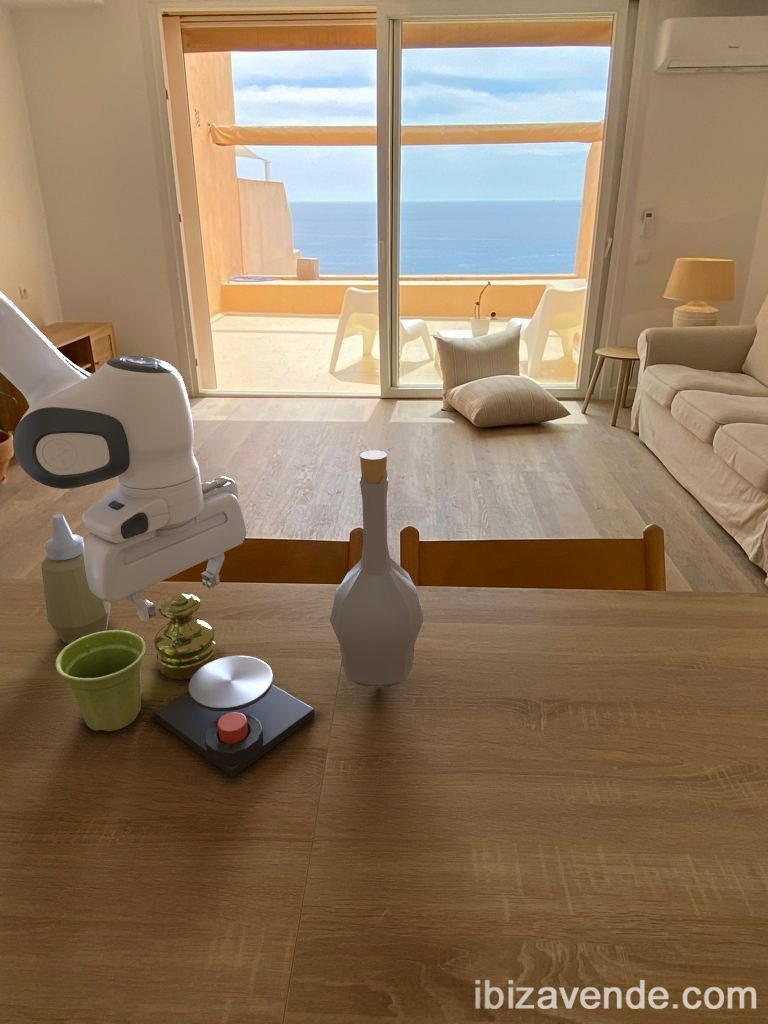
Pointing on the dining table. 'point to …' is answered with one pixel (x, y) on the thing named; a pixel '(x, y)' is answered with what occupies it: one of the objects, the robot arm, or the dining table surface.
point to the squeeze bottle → (70, 587)
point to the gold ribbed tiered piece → (183, 638)
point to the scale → (264, 723)
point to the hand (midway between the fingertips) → (180, 600)
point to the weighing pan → (230, 683)
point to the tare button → (232, 728)
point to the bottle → (376, 595)
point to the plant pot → (105, 677)
